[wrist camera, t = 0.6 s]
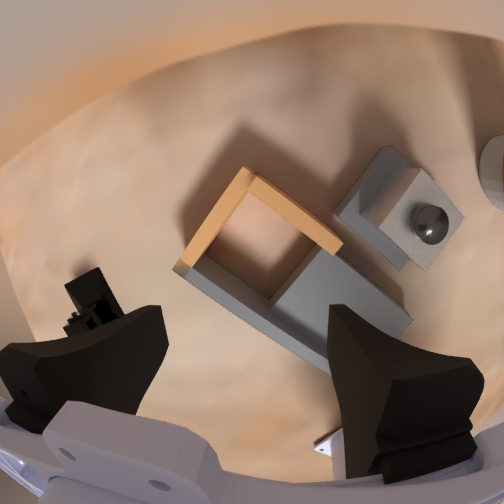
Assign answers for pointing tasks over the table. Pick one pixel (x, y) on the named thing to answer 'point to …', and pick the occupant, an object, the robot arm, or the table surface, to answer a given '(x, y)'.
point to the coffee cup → (493, 171)
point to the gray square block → (363, 194)
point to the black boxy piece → (91, 303)
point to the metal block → (413, 215)
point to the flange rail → (289, 278)
